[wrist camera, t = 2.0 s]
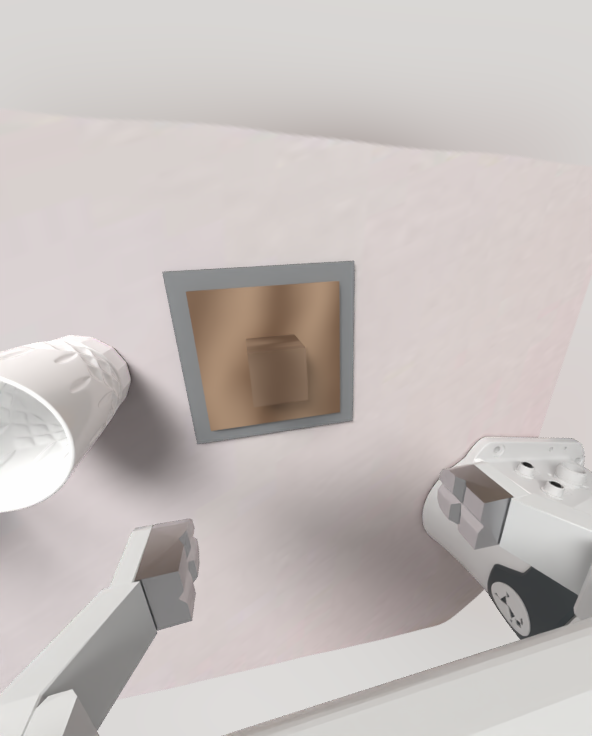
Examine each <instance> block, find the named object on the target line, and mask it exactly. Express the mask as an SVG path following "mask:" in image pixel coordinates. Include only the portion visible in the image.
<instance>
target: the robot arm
mask: <svg viewBox="0 0 592 736" xmlns="http://www.w3.org/2000/svg"><path fill="white" fill-rule="evenodd" d="M584 457H585V456H584V449H583V446H582V444H581V443H580V442H578V441H577V440H575V439H572V438H530V437H484V438H482V439H480V440H479V441H478V442H477V443H476V444H475V445H474V446H473V447H472V449H471V450H470V451H469V452H468V454H467V455H466V457H465V458H464V459H462V460H461V461H460V462H459V463H457V464H456V465H455V466H453V467H452V468H447V469H443V470H442V471H441V472H440V477H439V480H438V481H437V483H436V484H435V485H434V487H433V488H432V490H431V491H430V493H429V495H428V497H427V499H426V501H425V504H424V508H423V515H422V519H423V525H424V528H425V530H426V532H427V533H428V535H429V536H430V537H431V538H433V539H434V540H435V541H437V542H438V543H439V544H440V545H441V546H443V547H444V548H445V549H446V550H447V551H448V552H449V553H450V554H451V555H452V556H453V557H455V558H456V559H457V560H458V561H459V562H460V563H461V564H462V565H463V566H464V568H465V569H466V570H467V571H468V572H469V573H470V574H471V575H472V576H473V577H474V578H475V579H476V580H477V581H478V583H479V584H480V585H481V586H482V587H483V588H484V589H485V590H486V592H487V593H488V594H489V596H490V597H491V599H492V601H493V602H494V604H495V605H496V607H497V609H498V610H499V612H500V613H501V614H502V616H503V617H504V619H505V620H506V622H507V623H508V624H509V626H510V627H511V628H512V630H513V631H514V632H515V633H516V635H517V636H518V637H519V638H520V640H519V641H516V642H513V643H510V644H506V645H503V646H500V647H497V648H494V649H491V650H488V651H484V652H481V653H478V654H475V655H472V656H469V657H466V658H463V659H460V660H456V661H453V662H450V663H447V664H444V665H441V666H438V667H435V668H431V669H429V670H425V671H422V672H419V673H416V674H413V675H410V676H406V677H404V678H400V679H397V680H394V681H391V682H388V683H385V684H382V685H378V686H375V687H372V688H369V689H366V690H363V691H360V692H357V693H354V694H351V695H348V696H344V697H341V698H338V699H335V700H332V701H328V702H325V703H322V704H319V705H316V706H313V707H310V708H307V709H304V710H301V711H298V712H294V713H291V714H288V715H285V716H282V717H279V718H276V719H273V720H270V721H266V722H263V723H260V724H257V725H254V726H251V727H248V728H245V729H241V730H238V731H235V732H232V733H229V734H226V735H223V736H592V472H591V471H590V470H588V469H586V468H585V467H584ZM193 534H194V524H193V521H192V519H184V520H178V521H172V522H166V523H160V524H155V525H150V526H144V527H138V528H135V529H134V531H133V532H132V533H131V535H130V538H129V540H128V543H127V545H126V548H125V550H124V552H123V555H122V557H121V560H120V562H119V565H118V567H117V570H116V572H115V574H114V577H113V579H112V582H111V584H110V587H109V588H106V589H102V590H101V591H100V592H99V593H98V595H97V596H96V597H95V598H94V599H93V600H92V601H91V602H90V603H89V604H88V605H87V606H86V607H85V608H84V609H83V610H82V611H81V612H80V613H79V614H78V615H77V616H76V617H75V618H74V619H73V620H72V621H71V622H70V623H69V624H68V625H67V626H66V627H65V628H64V629H63V630H62V631H61V632H60V633H59V634H58V635H57V636H56V637H55V639H54V640H53V641H52V642H51V643H50V644H49V645H48V646H47V647H46V648H45V649H44V650H43V651H42V652H41V653H40V654H39V655H38V656H37V657H36V658H35V659H34V660H33V661H32V662H31V663H30V664H29V665H28V666H27V667H26V668H25V669H24V670H23V671H22V672H21V673H20V674H19V675H18V676H17V677H16V678H15V679H14V680H13V681H12V682H11V684H10V685H9V686H8V687H7V688H6V689H5V690H4V691H3V692H2V693H1V694H0V736H99V734H98V732H97V730H98V728H99V727H100V725H101V724H102V722H103V720H104V719H105V717H106V716H107V714H108V712H109V711H110V709H111V707H112V706H113V704H114V703H115V701H116V699H117V698H118V696H119V694H120V693H121V691H122V690H123V688H124V686H125V685H126V683H127V681H128V680H129V678H130V677H131V675H132V673H133V672H134V670H135V668H136V667H137V665H138V664H139V662H140V660H141V659H142V657H143V655H144V654H145V652H146V651H147V649H148V647H149V646H150V644H151V642H152V641H153V639H154V638H155V636H156V634H157V631H158V630H161V629H165V628H168V627H172V626H175V625H179V624H182V623H186V622H189V621H192V617H193V610H194V602H195V595H196V592H195V588H194V584H193V582H194V581H195V580H196V578H197V577H198V571H199V546H198V541H197V539H196V538H194V537H193Z"/></svg>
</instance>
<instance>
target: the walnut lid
mask: <svg viewBox="0 0 592 736" xmlns="http://www.w3.org/2000/svg"><path fill="white" fill-rule="evenodd" d="M186 296H187V302H188V307H189V313H190V318H191V324H192V329H193V335H194V340H195V346H196V351H197V357H198V362H199V368H200V374H201V379H202V385H203V390H204V396H205V401H206V407H207V412H208V418H209V423H210V429H211V431H215V430H222V429H228V428H235V427H242V426H249V425H256V424H263V423H270V422H276V421H283V420H290V419H297V418H304V417H311V416H317V415H324V414H331V413H338V412H340V299H339V281H329V282H314V283H300V284H285V285H271V286H256V287H242V288H227V289H213V290H198V291H187V292H186Z"/></svg>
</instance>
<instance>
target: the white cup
mask: <svg viewBox="0 0 592 736" xmlns="http://www.w3.org/2000/svg"><path fill="white" fill-rule="evenodd" d="M130 382H131V378H130V374H129V371H128V367H127V363H126V362H125V361H124V360H123V358H122V357H121V356H120V355H119V354H118V353H117V351H116V350H115V349H114V348H113V347H111V346H109V345H107V344H105V343H103V342H101V341H99V340H97V339H95V338H93V337H85V336H76V335H68V336H65V337H62V338H58V339H55V340H51V341H46V342H36V343H33V344H29V345H24V346H20V347H16V348H12V349H9V350H5V351H1V352H0V513H2V512H10V511H16V510H20V509H24V508H27V507H30V506H33V505H36V504H38V503H40V502H42V501H44V500H46V499H47V498H49V497H50V496H52V495H53V494H55V493H56V492H57V491H58V490H59V489H60V488H61V487H62V486H63V485H64V484H65V482H66V481H67V480H68V478H69V477H70V476H71V474H72V473H73V471H74V470H75V469H76V467H77V466H78V465H79V463H80V462H81V461H82V459H83V458H84V457H85V455H86V454H87V452H88V451H89V450H90V448H91V447H92V446H93V444H94V443H95V442H96V440H97V439H98V438H99V436H100V435H101V434H102V432H103V431H104V429H105V428H106V426H107V425H108V423H109V422H110V420H111V419H112V418H113V416H114V414H115V412H116V411H117V409H118V407H119V406H120V404H121V403H122V402H123V401H124V399H125V398H126V397H127V393H128V390H129V386H130Z"/></svg>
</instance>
